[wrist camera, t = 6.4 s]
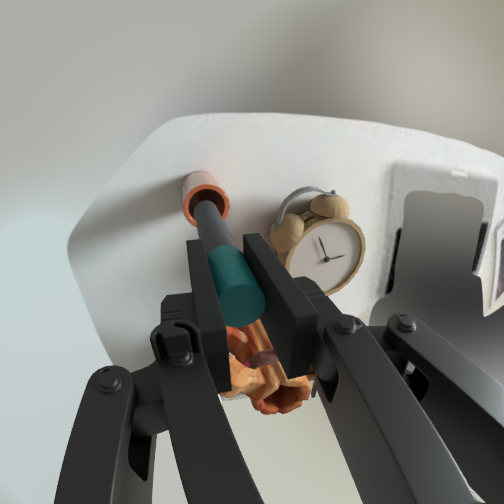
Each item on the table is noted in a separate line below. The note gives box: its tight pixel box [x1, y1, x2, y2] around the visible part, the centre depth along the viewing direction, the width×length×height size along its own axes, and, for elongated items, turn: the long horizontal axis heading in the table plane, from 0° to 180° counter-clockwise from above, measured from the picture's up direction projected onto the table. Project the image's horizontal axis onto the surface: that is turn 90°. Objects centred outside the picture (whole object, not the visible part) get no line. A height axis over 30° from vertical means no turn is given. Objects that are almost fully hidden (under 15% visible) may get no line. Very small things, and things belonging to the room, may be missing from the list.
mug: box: [218, 318, 311, 415], centre depth 31 cm, size 15×8×15 cm, turn 50°
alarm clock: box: [269, 186, 365, 296], centre depth 34 cm, size 11×5×15 cm
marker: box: [194, 201, 266, 327], centre depth 16 cm, size 2×2×13 cm
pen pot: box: [182, 171, 230, 227], centre depth 27 cm, size 4×4×8 cm
